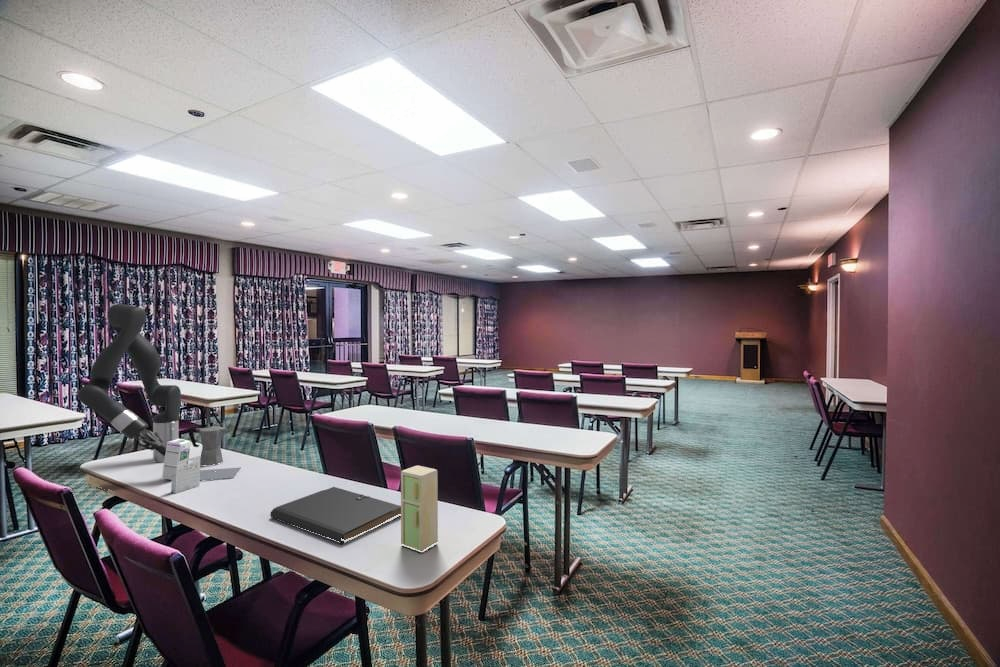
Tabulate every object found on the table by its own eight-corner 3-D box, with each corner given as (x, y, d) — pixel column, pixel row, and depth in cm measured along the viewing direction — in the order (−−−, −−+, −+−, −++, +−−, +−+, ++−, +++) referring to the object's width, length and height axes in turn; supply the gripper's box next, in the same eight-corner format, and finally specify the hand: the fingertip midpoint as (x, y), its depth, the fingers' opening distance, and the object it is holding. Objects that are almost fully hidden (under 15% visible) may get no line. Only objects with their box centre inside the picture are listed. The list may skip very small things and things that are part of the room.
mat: (179, 482, 177) (179, 481, 177) (191, 472, 190) (191, 471, 190) (233, 478, 183) (233, 477, 183) (240, 468, 196) (240, 467, 196)
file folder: (402, 504, 148) (340, 534, 128) (402, 517, 148) (340, 548, 128) (334, 485, 166) (270, 508, 145) (334, 496, 166) (270, 521, 145)
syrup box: (175, 480, 179) (181, 444, 179) (161, 478, 179) (167, 441, 179) (186, 476, 185) (192, 440, 185) (171, 473, 185) (177, 437, 185)
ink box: (170, 493, 166) (170, 461, 166) (195, 484, 175) (195, 454, 175) (175, 494, 165) (175, 462, 165) (200, 485, 174) (200, 455, 174)
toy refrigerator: (398, 547, 127) (398, 471, 127) (416, 537, 133) (417, 464, 133) (419, 555, 123) (420, 476, 122) (437, 545, 129) (438, 469, 128)
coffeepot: (231, 459, 209) (231, 419, 209) (224, 465, 200) (224, 423, 200) (193, 461, 205) (193, 420, 205) (183, 467, 196) (184, 425, 196)
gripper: (130, 420, 172) (169, 450, 176) (144, 413, 184) (180, 442, 188) (113, 435, 170) (152, 465, 174) (128, 427, 183) (165, 456, 187)
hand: (167, 453), depth 181 cm, fingers closed
